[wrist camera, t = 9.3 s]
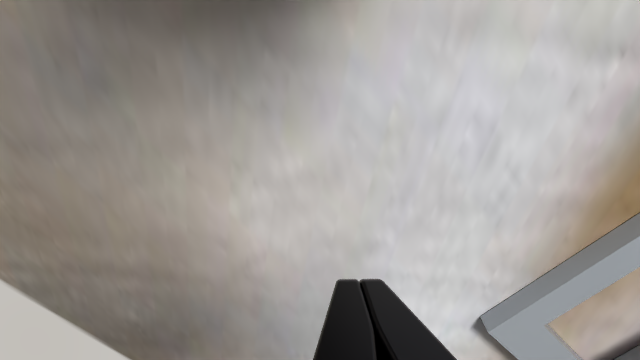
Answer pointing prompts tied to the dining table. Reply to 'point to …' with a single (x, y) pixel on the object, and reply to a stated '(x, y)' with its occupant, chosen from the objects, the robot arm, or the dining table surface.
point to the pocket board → (564, 296)
